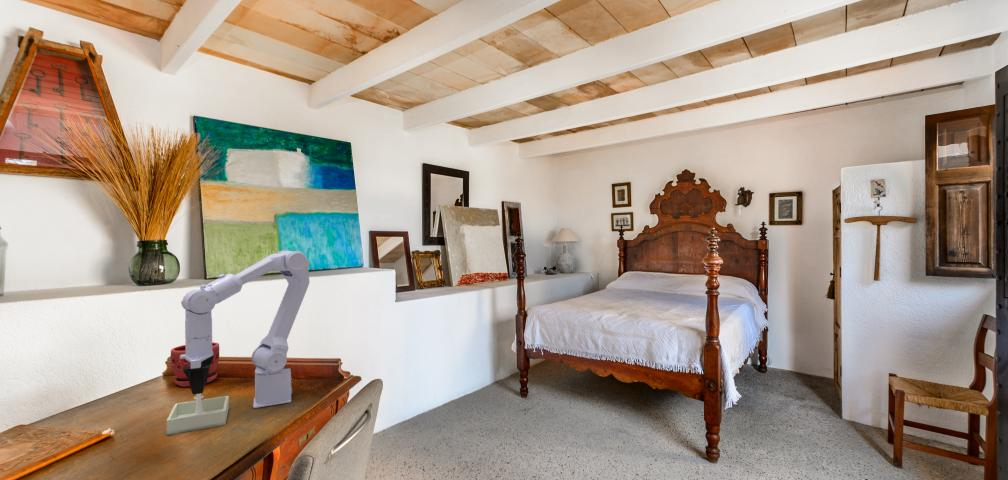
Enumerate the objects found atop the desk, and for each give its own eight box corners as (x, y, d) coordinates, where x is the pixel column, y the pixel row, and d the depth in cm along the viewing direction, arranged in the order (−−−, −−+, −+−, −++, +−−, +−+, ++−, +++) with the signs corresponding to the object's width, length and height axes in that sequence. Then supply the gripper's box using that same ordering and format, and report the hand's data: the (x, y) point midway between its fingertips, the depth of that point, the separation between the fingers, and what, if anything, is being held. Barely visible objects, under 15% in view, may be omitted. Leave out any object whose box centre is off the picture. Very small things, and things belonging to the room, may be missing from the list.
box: (228, 408, 123) (228, 395, 123) (225, 425, 112) (225, 410, 112) (175, 417, 117) (175, 403, 117) (166, 435, 107) (166, 420, 106)
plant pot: (229, 376, 151) (228, 341, 151) (197, 389, 138) (197, 351, 138) (194, 374, 152) (194, 340, 152) (160, 388, 139) (159, 350, 139)
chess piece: (197, 424, 111) (197, 384, 111) (182, 421, 113) (182, 382, 113) (215, 416, 116) (214, 378, 116) (200, 414, 117) (199, 376, 117)
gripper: (184, 332, 119) (185, 383, 119) (174, 344, 106) (175, 400, 106) (215, 329, 122) (216, 378, 122) (210, 341, 109) (210, 395, 110)
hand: (199, 388), depth 115 cm, fingers open, 7 cm apart
